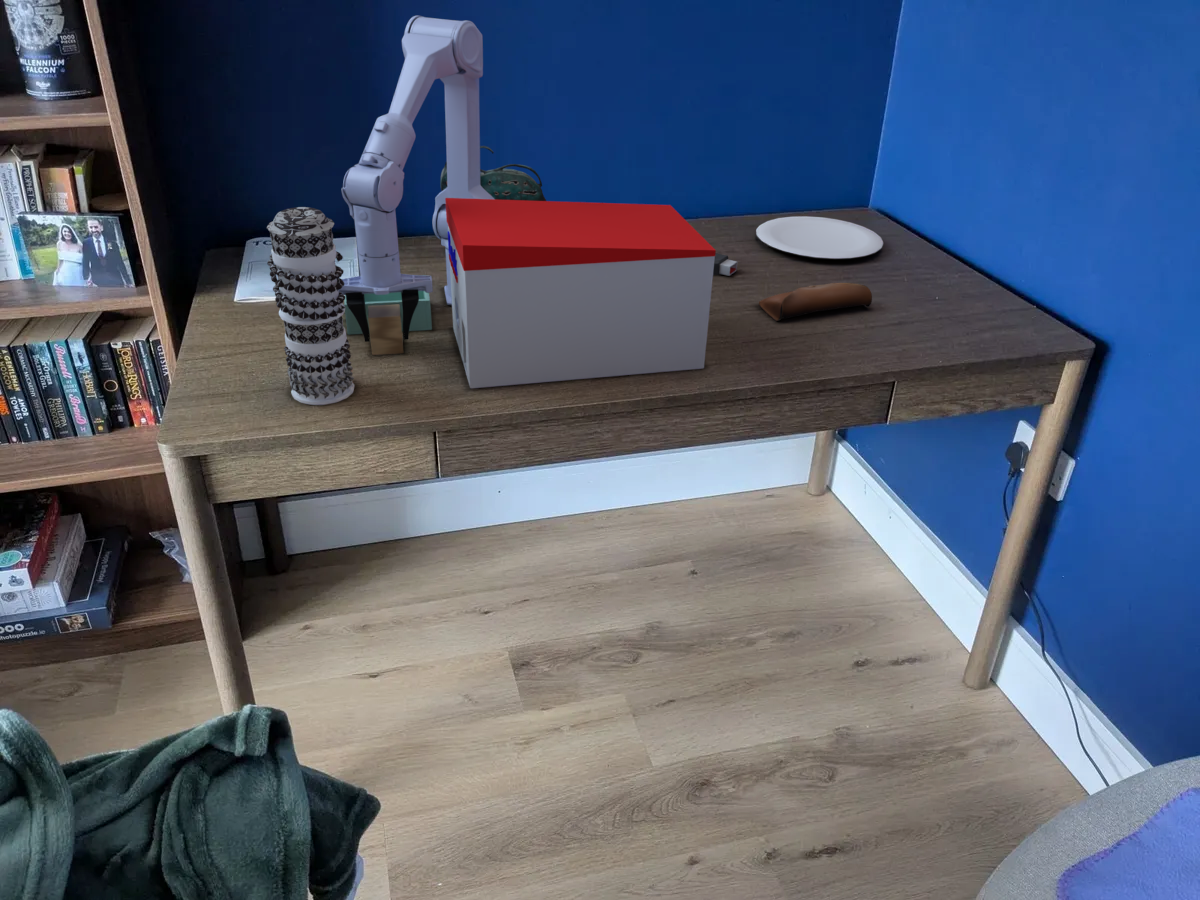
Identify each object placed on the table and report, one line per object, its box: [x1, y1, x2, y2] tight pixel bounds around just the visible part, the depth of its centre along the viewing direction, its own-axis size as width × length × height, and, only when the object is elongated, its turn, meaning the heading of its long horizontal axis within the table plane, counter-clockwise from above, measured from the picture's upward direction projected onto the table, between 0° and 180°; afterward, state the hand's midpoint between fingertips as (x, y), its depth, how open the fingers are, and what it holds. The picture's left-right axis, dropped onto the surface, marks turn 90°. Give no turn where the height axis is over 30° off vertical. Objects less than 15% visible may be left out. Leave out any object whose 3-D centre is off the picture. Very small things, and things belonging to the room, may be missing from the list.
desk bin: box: [343, 274, 433, 336], centre depth 152 cm, size 13×11×5 cm
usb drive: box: [713, 252, 738, 277], centre depth 176 cm, size 5×12×3 cm, turn 58°
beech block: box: [368, 304, 405, 356], centre depth 143 cm, size 5×5×6 cm
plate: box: [755, 215, 884, 261], centre depth 190 cm, size 25×25×2 cm
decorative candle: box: [266, 206, 355, 406], centre depth 125 cm, size 9×9×25 cm
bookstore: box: [445, 198, 717, 389], centre depth 140 cm, size 21×35×21 cm, turn 104°
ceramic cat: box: [439, 145, 547, 201], centre depth 176 cm, size 20×6×20 cm, turn 104°
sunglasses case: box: [758, 282, 873, 322], centre depth 161 cm, size 18×7×7 cm, turn 113°
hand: (386, 338), depth 143 cm, fingers open, 5 cm apart
